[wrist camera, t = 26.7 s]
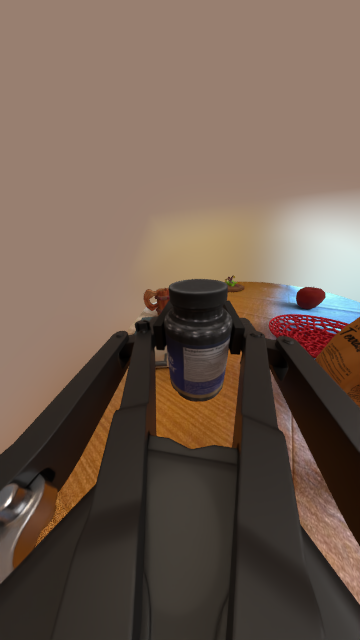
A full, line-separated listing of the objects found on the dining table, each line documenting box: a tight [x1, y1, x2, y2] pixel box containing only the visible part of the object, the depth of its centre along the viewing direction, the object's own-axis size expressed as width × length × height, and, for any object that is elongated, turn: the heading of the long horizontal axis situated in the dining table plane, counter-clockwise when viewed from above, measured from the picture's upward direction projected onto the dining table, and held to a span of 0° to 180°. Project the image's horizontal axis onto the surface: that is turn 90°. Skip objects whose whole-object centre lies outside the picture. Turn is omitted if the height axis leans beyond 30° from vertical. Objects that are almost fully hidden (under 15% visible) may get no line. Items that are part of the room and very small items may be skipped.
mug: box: [144, 288, 169, 315], centre depth 69 cm, size 15×8×15 cm, turn 105°
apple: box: [296, 287, 325, 309], centre depth 69 cm, size 11×11×12 cm
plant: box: [225, 276, 244, 292], centre depth 112 cm, size 20×20×11 cm
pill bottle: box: [164, 279, 232, 401], centre depth 13 cm, size 6×6×11 cm
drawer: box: [155, 345, 169, 368], centre depth 41 cm, size 18×12×8 cm, turn 1°
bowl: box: [269, 314, 349, 358], centre depth 43 cm, size 29×29×5 cm
